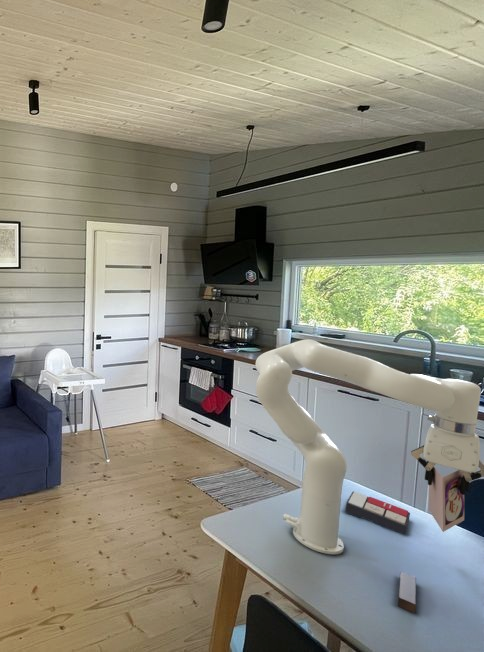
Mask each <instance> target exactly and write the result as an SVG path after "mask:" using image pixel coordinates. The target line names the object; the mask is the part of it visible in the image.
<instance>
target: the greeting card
mask: <svg viewBox="0 0 484 652" xmlns="http://www.w3.org/2000/svg"><path fill="white" fill-rule="evenodd" d="M432 469H433V479H432V485H428V512H430V515H431V516H432V518H433V519H434V520H435V522H436V524H437V525H438V527H439V529H440V530H441V532H442V533H444V532H446V531H448V530H449V529H451V528H453V527H455V526H458V525H459V524H460V523H462V522H463V521H465V494H464V495H462V494H460V490H459V489H460V482H461V477H462V476H463V475H464V474H463V471H461V470H455V471H453V472H451V473H449V474H447V475H444V476H442V475H441V474H440V472H439V471H438V470H437V468H436V467H435V466H434V467H433V468H432Z"/></svg>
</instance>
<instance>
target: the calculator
mask: <svg viewBox="0 0 484 652" xmlns="http://www.w3.org/2000/svg"><path fill="white" fill-rule="evenodd" d="M344 512H345V513H347V514H349V515H351V516H353V517H356V518H358V519H360V518H361V519H362V518H363V519H365V520H368V521H369V522H372V523H375V524H377V525H379V526H382V527H385V528H387V529H388V530H389V529H390V530H391V531H394V532H397V533H399V534H401V535H406V534H407V533H406V532H407V529H408V526H409V522H410V516H411V512H409V510H407V509H404V508H401V507H399V506H396V505H394V504H391V503H388V502H386V501H383V500H380V499H377V498H375V497H372V496H368V495H365V494H362V493H360V492H357V491H352V492H351V493H350V495H349V497H348V499H347V501H346V503H345V509H344Z"/></svg>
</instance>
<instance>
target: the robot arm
mask: <svg viewBox="0 0 484 652" xmlns="http://www.w3.org/2000/svg"><path fill="white" fill-rule="evenodd" d="M254 365H255V370H256V371H257V373H258V377H257V379H256V382H255V383H256V384H255V394H256V397H257V399H258V401H259V402H260V404H261V405H262V406H263V408H264V409H265V411H266V412H267V413H268V415H269V416H270V417H271V418H272V420H273V421H274V422H275V423H276V424H277V426H278V427H279V429H280V431H281V432H282V433H283V434H284V435H285V436H286V438H288V439H289V440H290V441H291V442H292V443H293V444H294V446H295V447H296V448H297V449H298V450H299V452H300V454H301V455H302V457H303V459H304V461H305V467H304V468H305V469H304V472H303V475H302V483H301V500H300V513H299V517H297V516H295V517H294V516H291V514H287V513H284V514H283V517H282V519H283V521H285V524H286V525H288V526H291V527H293V529H292V534H293V536H294V538H295V539H296V540H297V541H298V542H299V543H301V544H302V545H303V546H305V547H306V548H308V549H310V550H313V551H315V552H318V553H321V554H324V555H340V554H342V553H343V552H344V549H345V545H344V542H343V540H342V539H341V538H340V537H339V529H340V527H339V526H340V517H341V506H342V494H343V493H342V492H343V483H344V481H345V480H344V479H345V477H346V473H347V467H348V466H347V460H346V458H345V456H344V454H343V452H342V451H341V449H339V447H338V446H337V445H336V444H335V443H334V442H333V441H332V439H331V438H330V437H329V436H328V434H327V433H326V432H325V431H324V430H323V429H322V428H321V427H320V426H319V424H318V423H317V422H316V421H315V419H314V418H313V417H312V416H311V415H310V413H309V412H308V411H307V410H306V409H305V408H304V407H303V406H301V405H300V404H299V403H298V402H297V401H296V399H295V398H294V397H293V396H292V395H291V393H290V391H289V385H290V382H291V380H292V377H293V371H297V370H299V369H303V368H305V369H306V370H308V371H311V372H313V373H318V374H321V375H322V376H325V377H326V376H327V377H330V378H333V379H337V380H340V381H342V382H345V383H349V384H352V385H355V386H358V387H360V388H363V389H366V390H368V391H370V392H374V393H377V394H379V395H380V394H381V395H383V396H387V397H389V398H392V399H394V400H397V401H400V402H403V403H406V404H409V405H413V406H416V407H419V408H421V409H425V410H428V411H429V410H430V411H435V415H427V419H426V420H427V421H429V422H432V424H430V426H429V427H428V430H427V433H426V436H425V439H424V443H423V445H421V446H419V447H417V448H414V449H413V450H411V451H410V455H411V456H412V457H413V458H414V459H415V460H417V462H418V463H419V464H420V465H421V466H422V467H423V468H424V469H425V472H424V480H425V481H427V485H428V486H429V485H432V479H433V469H432V468H433V467H435V465H439V466H441V467H442V466H443V467H446V468H450V469H454V470H456V471H458V470H461V471H463V474H464V475H463V476H462V477H461V482H460V489H459V490H460V494H462V495H464V496H465V493H469V490H470V483H471V482H472V481H476V480H478V479H481V478H483V477H484V462H482V460H481V459H480V456H481V455H480V452H481V441H480V436H479V435H478V434H477V433H476V426H477V420H478V414H479V408H480V400H481V394H482V389H481V387H480V386H479V385H478V384H477V383H474V382H471V381H467V380H462V379H454V378H440V377H434V376H431V375H424V374H419V373H410V374H409V373H406V372H403V371H400V370H398V369H395V368H393V367H390V366H388V365H385V364H383V363H381V362H379V361H377V360H374V359H372V358H369V357H366V356H362V355H359V354H356V353H353V352H350V351H349V352H348V351H345V350H341V349H338V348H335V347H332V346H329V345H325V344H322V343H320V342H319V341H316V340H315V339H311V338H307V339H301V340H298V341H294V342H291V343H289V344H286V345H283V346H280V347H277V348H274V349H271V350H268V351H265V352H263V353H261V354H260V355H259V356H258V357H257V358H256V360H255V364H254ZM421 454H423V457H422V455H421ZM478 469H480V470H478Z"/></svg>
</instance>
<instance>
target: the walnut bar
mask: <svg viewBox="0 0 484 652" xmlns="http://www.w3.org/2000/svg"><path fill="white" fill-rule="evenodd" d="M398 583H399V585H398V599H397V601H398V602H397V607H399V608H402V609H403V610H406V611H408V612H411V613H413V614H415V613H416V607H417V606H416V605H417V601H416V600H417V578H416V576H413V575H410V574H407V573H405V572H403V571H400V573H399V582H398Z"/></svg>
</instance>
